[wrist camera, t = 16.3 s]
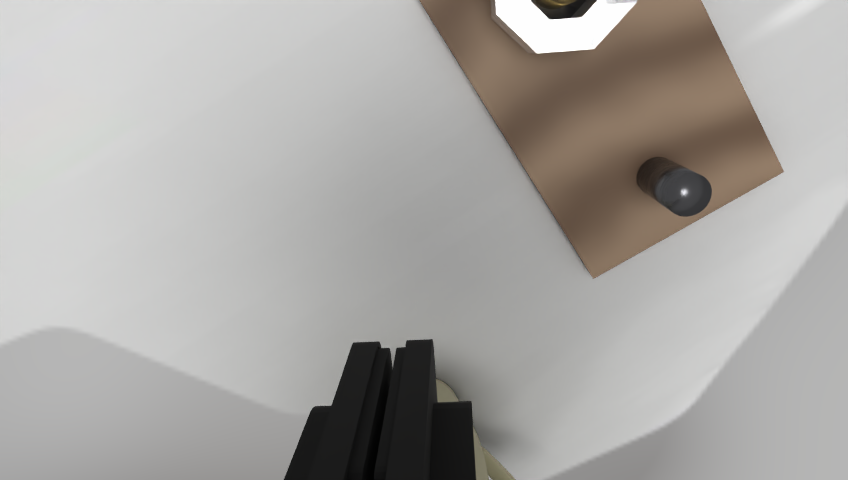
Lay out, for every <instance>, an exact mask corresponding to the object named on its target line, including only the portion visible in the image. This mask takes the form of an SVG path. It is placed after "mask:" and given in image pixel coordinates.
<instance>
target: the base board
mask: <svg viewBox="0 0 848 480" xmlns="http://www.w3.org/2000/svg"><path fill="white" fill-rule="evenodd" d="M419 1H420V2H421V4H422V5H423V7H424V9H425V10H426V12H427V13H428V15H429V17H430V18H431V20H432V21H433V23H434V25H435V26H436V28H437V29H438V31H439V33H440V34H441V36H442V37H443V39H444V41H445V42H446V44H447V45H448V47H449V49H450V50H451V52H452V53H453V55H454V57H455V58H456V60H457V61H458V63H459V65H460V66H461V68H462V69H463V71H464V73H465V74H466V76H467V77H468V79H469V81H470V82H471V84H472V85H473V87H474V89H475V90H476V92H477V93H478V95H479V97H480V98H481V100H482V101H483V103H484V105H485V106H486V108H487V109H488V111H489V113H490V114H491V116H492V117H493V119H494V121H495V122H496V124H497V125H498V127H499V129H500V130H501V132H502V133H503V135H504V137H505V138H506V140H507V141H508V143H509V145H510V146H511V148H512V149H513V151H514V153H515V154H516V156H517V157H518V159H519V161H520V162H521V164H522V165H523V167H524V169H525V170H526V172H527V173H528V175H529V177H530V178H531V180H532V181H533V183H534V185H535V186H536V188H537V189H538V191H539V193H540V194H541V196H542V197H543V199H544V201H545V202H546V204H547V205H548V207H549V209H550V210H551V212H552V213H553V215H554V217H555V218H556V220H557V221H558V223H559V225H560V226H561V228H562V229H563V231H564V233H565V234H566V236H567V237H568V239H569V241H570V242H571V244H572V245H573V247H574V249H575V250H576V252H577V253H578V255H579V257H580V258H581V260H582V261H583V263H584V265H585V266H586V268H587V269H588V271H589V273H590V274H591V276H592V277H593V279H594V278H596V277H597V276H599V275H601V274H603V273H604V272H606V271H608V270H610V269H612V268H613V267H615V266H617V265H619V264H621V263H622V262H624V261H626V260H628V259H629V258H631V257H633V256H635V255H637V254H638V253H640V252H642V251H644V250H645V249H647V248H649V247H651V246H653V245H654V244H656V243H658V242H660V241H662V240H663V239H665V238H667V237H669V236H670V235H672V234H674V233H676V232H678V231H679V230H681V229H683V228H685V227H686V226H688V225H690V224H692V223H694V222H695V221H697V220H699V219H701V218H702V217H704V216H706V215H708V214H710V213H711V212H713V211H715V210H717V209H719V208H720V207H722V206H724V205H726V204H727V203H729V202H731V201H733V200H735V199H736V198H738V197H740V196H742V195H743V194H745V193H747V192H749V191H751V190H752V189H754V188H756V187H758V186H760V185H761V184H763V183H765V182H767V181H768V180H770V179H772V178H774V177H776V176H777V175H779V174H781V173H783V172H784V171H783V169H782V167H781V165H780V163H779V161H778V159H777V156H776V154H775V152H774V150H773V148H772V146H771V144H770V142H769V140H768V138H767V136H766V134H765V132H764V130H763V127H762V125H761V123H760V121H759V119H758V117H757V115H756V113H755V111H754V109H753V107H752V105H751V103H750V101H749V98H748V96H747V94H746V92H745V90H744V88H743V86H742V84H741V82H740V80H739V78H738V76H737V74H736V72H735V69H734V67H733V65H732V63H731V61H730V59H729V57H728V55H727V53H726V51H725V49H724V47H723V45H722V42H721V40H720V38H719V36H718V34H717V32H716V30H715V28H714V26H713V24H712V22H711V20H710V18H709V16H708V13H707V11H706V9H705V7H704V5H703V3H702V1H701V0H637V3H636V4H635V5H634V6H633V7H632V8H631V9H630V10H629V11H628V12H627V14H626V15H625V16H624V17H623V18H622V19H621V20H620V21H619V22H618V23H617V24H616V25H615V27H614V28H613V29H612V30H611V31H610V32H609V33H608V34H607V35H606V36H605V37H604V38H603V40H602V41H601V42H600V43H599V44H598V45H597V46H596V47H595V48H594V49H584V50H571V51H558V52H545V53H527V52H526V51H525V50H524V49H523V48H522V47H521V46H520V45H519V44H518V43H517V42H515V41H514V40H513V39H512V38H511V37H510V36H509V35H508V34H507V33H506V32H505V31H504V30H503V29H502V28H501V27H500V26H499V25H498V24H497V23H496V22H495V21H494V20H493V19H492V18H491V0H419ZM654 157H664V158H667V159H669V160H671V161H673V162H675V163H677V164H679V165H681V166H683V167H686V168H688V169H690V170H692V171H694V172H696V173H698V174H700V175H702V176H704V177H705V178H706V179H707V180H708V181H709V183H710V185H711V188H712V196H711V199H710V202H709V203H708V205H707V206H706V208H705V209H704V210H702V211H701V212H700V213H698V214H696V215H693V216H688V217H683V216H678V215H676V214H674V213H673V212H671V211H670V210H668V209H667V208H665V207H664V206H663V205H661V204H660V203H658V202H657V201H656V200H654V199H653V198H651V197H650V196H649V195H647V194H646V193H644V192H643V191H642V190H641V189H640V188H639V186H638V184H637V180H636V177H637V172H638V170H639V168H640V166H641V165H642V164H643V163H644V162H645V161H647V160H648V159H651V158H654Z"/></svg>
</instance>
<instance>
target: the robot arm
mask: <svg viewBox="0 0 848 480" xmlns="http://www.w3.org/2000/svg"><path fill="white" fill-rule="evenodd" d="M284 480H476V468H475V452H474V435H473V419H472V403H471V401H461V402H438V400H437V386H436V373H435V360H434V347H433V340H432V339H430V340H407V341H406V347H402V348H397V349H396V354H395V360H394V365H393V370H392V361H391V352H390V349H389V348H381V344H380V342H357V343H353V344H352V347H351V350H350V353H349V356H348V359H347V362H346V365H345V367H344V370H343V373H342V376H341V379H340V382H339V385H338V388H337V391H336V394H335V397H334V400H333V403H332V406H315V407H314V408H312V410H311V412H310V414H309V417H308V419H307V422H306V425H305V427H304V430H303V432H302V435H301V437H300V440H299V442H298V445H297V448H296V450H295V453H294V455H293V458H292V460H291V463H290V466H289V468H288V471H287V473H286V476H285V479H284Z"/></svg>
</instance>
